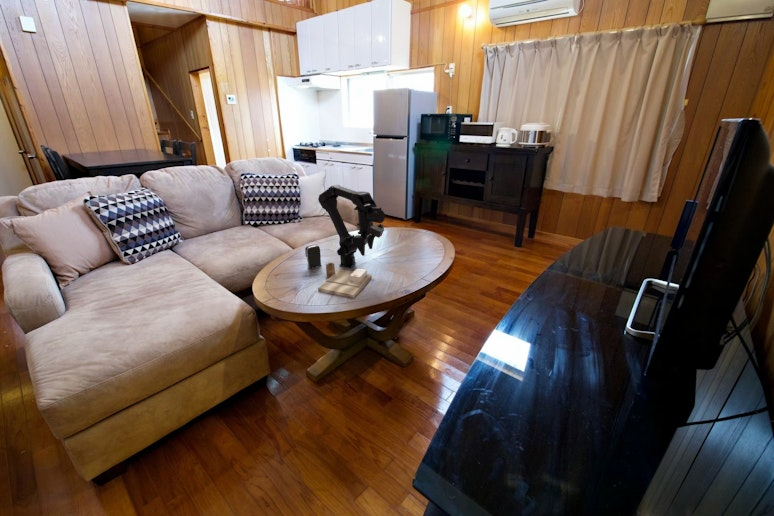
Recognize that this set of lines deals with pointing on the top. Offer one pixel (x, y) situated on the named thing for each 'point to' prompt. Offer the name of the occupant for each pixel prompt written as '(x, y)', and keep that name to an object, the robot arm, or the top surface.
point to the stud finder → (358, 275)
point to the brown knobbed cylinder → (330, 269)
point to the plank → (343, 284)
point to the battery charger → (313, 256)
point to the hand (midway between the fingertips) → (367, 252)
